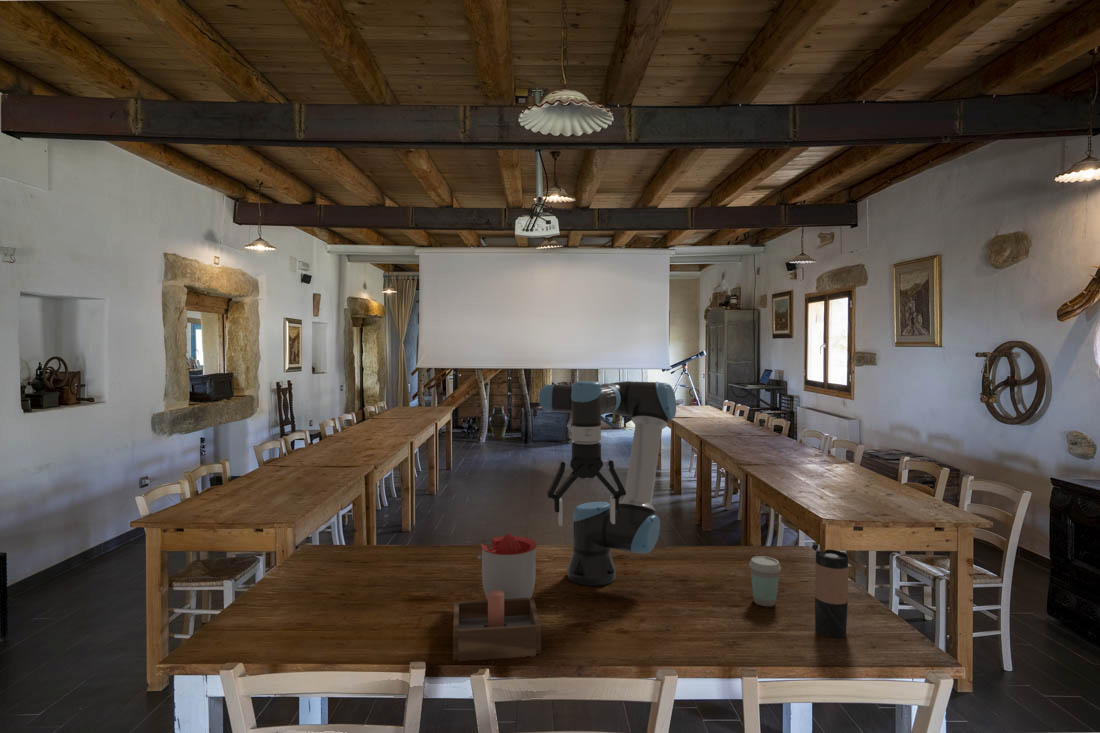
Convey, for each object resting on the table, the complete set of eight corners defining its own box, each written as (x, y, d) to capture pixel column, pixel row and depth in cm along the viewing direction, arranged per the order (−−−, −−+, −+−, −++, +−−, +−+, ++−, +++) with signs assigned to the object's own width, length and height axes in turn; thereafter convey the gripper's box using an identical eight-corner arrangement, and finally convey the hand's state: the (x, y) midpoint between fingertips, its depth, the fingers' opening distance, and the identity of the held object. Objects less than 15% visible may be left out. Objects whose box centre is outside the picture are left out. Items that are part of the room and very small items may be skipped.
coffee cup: (783, 609, 166) (783, 567, 166) (750, 607, 168) (751, 564, 168) (777, 597, 175) (778, 556, 174) (747, 594, 176) (747, 554, 176)
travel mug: (845, 641, 148) (846, 561, 148) (811, 633, 152) (813, 555, 152) (848, 629, 155) (850, 552, 154) (816, 622, 159) (817, 547, 158)
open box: (454, 628, 154) (454, 601, 154) (533, 624, 157) (533, 597, 157) (453, 661, 138) (453, 631, 138) (541, 655, 141) (541, 626, 141)
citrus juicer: (494, 588, 181) (494, 522, 180) (545, 598, 173) (546, 529, 173) (464, 608, 167) (464, 536, 166) (519, 620, 159) (519, 545, 159)
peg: (487, 638, 149) (487, 590, 149) (503, 637, 150) (503, 589, 150) (488, 646, 145) (488, 597, 145) (504, 645, 146) (504, 596, 146)
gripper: (538, 445, 149) (539, 529, 150) (637, 442, 151) (637, 526, 152) (536, 440, 156) (537, 520, 157) (630, 438, 159) (630, 517, 160)
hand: (586, 523), depth 155 cm, fingers open, 13 cm apart
